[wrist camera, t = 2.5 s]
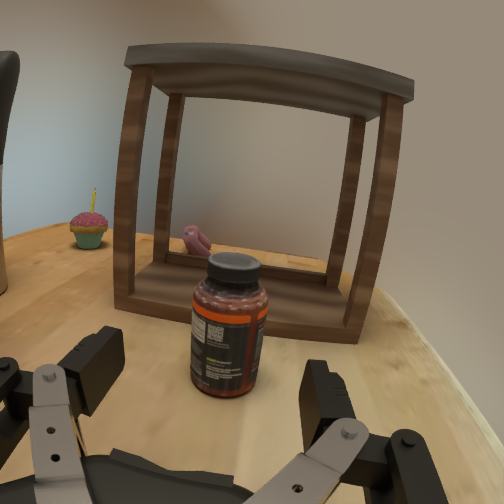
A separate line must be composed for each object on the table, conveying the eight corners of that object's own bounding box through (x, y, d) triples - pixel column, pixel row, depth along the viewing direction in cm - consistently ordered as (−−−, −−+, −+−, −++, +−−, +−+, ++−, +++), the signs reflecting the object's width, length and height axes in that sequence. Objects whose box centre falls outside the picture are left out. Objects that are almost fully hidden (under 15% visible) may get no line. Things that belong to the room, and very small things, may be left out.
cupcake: (82, 239, 61) (83, 186, 57) (114, 243, 61) (116, 188, 58) (62, 249, 52) (63, 189, 49) (97, 254, 53) (98, 191, 50)
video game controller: (193, 254, 67) (181, 225, 65) (212, 247, 67) (201, 217, 65) (190, 268, 58) (176, 235, 55) (212, 260, 58) (199, 226, 56)
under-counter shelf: (365, 346, 34) (414, 80, 25) (106, 308, 34) (128, 46, 26) (337, 294, 50) (368, 107, 42) (152, 267, 50) (171, 82, 42)
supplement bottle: (246, 358, 29) (263, 250, 26) (263, 397, 24) (287, 274, 21) (187, 359, 28) (193, 245, 25) (192, 401, 22) (199, 270, 19)
